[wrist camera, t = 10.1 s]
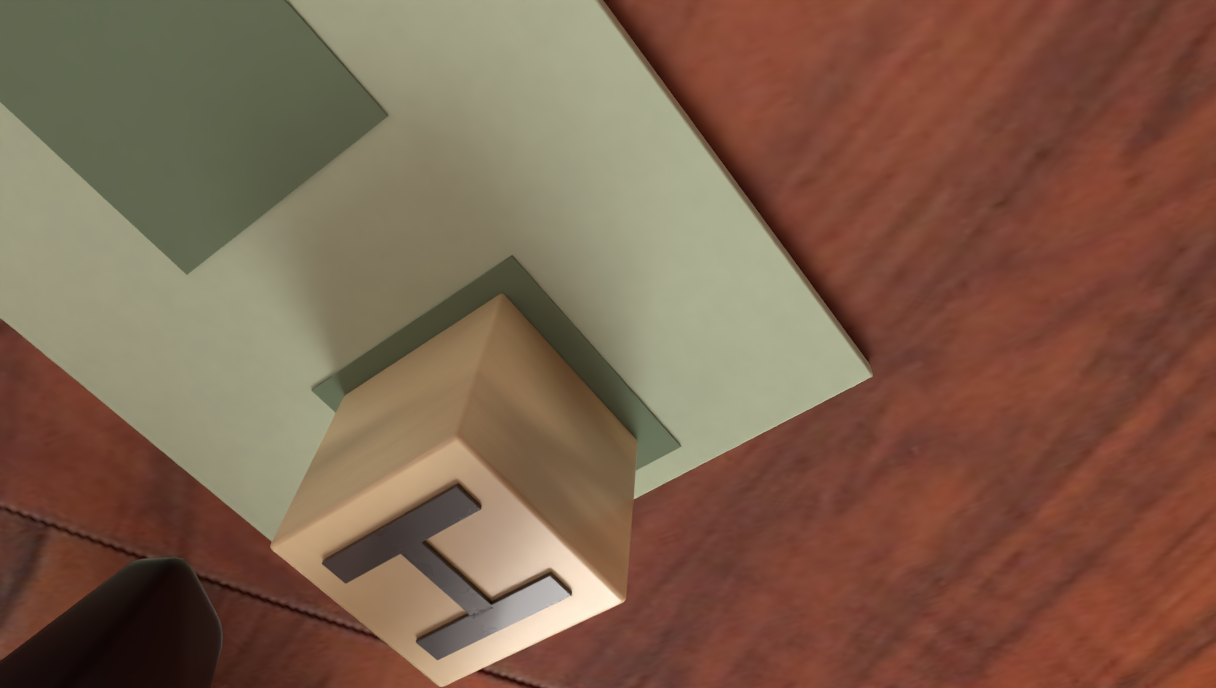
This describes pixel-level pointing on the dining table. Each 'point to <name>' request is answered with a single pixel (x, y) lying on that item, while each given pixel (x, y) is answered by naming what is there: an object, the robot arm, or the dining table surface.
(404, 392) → the letter h block
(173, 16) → the mat
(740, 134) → the dining table surface
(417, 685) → the dining table surface
